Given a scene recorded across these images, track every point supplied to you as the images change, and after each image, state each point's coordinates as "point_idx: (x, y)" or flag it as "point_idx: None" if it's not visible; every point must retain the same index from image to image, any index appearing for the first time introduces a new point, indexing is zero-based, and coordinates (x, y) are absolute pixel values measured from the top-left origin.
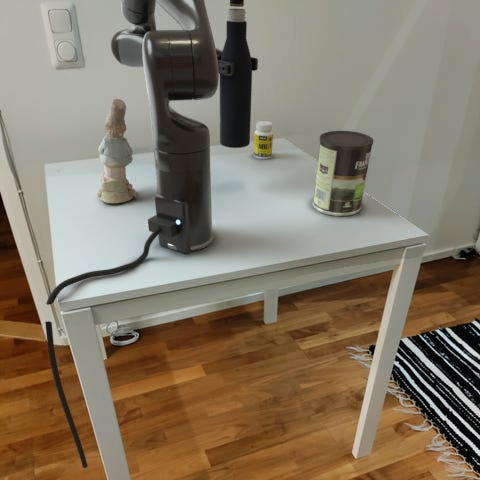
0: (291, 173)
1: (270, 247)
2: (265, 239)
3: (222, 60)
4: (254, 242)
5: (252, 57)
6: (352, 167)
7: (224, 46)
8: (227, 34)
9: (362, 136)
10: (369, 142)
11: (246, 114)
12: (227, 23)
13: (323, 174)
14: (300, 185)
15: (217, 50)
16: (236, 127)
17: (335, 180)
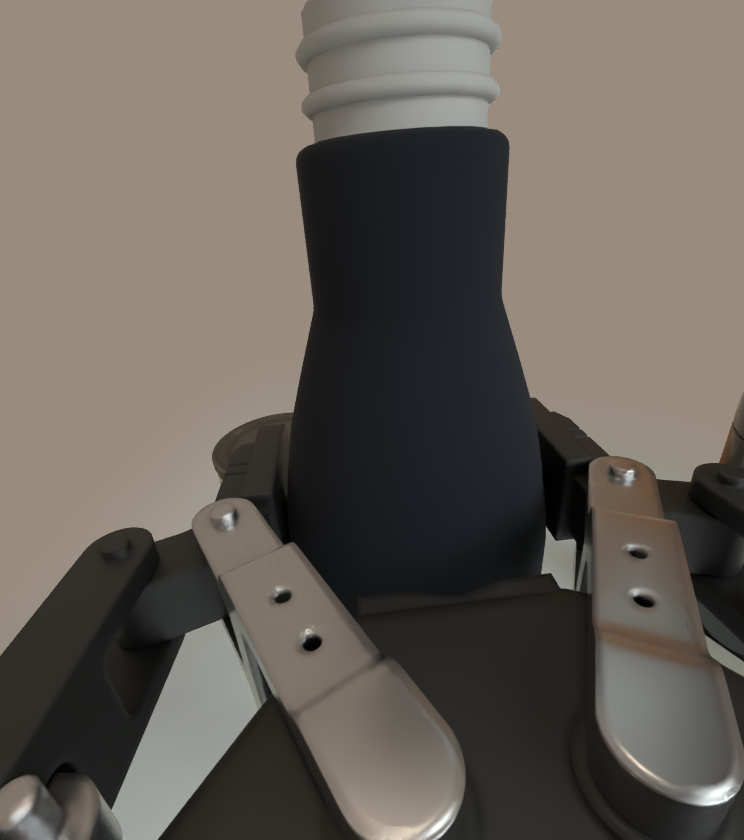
0: (131, 834)
1: (550, 539)
2: (544, 560)
3: (539, 463)
4: (572, 564)
5: (263, 439)
6: None
7: (517, 372)
8: (502, 261)
9: (235, 439)
10: (276, 416)
11: None
12: (506, 153)
13: None
14: (235, 714)
15: (394, 667)
16: None
17: None
